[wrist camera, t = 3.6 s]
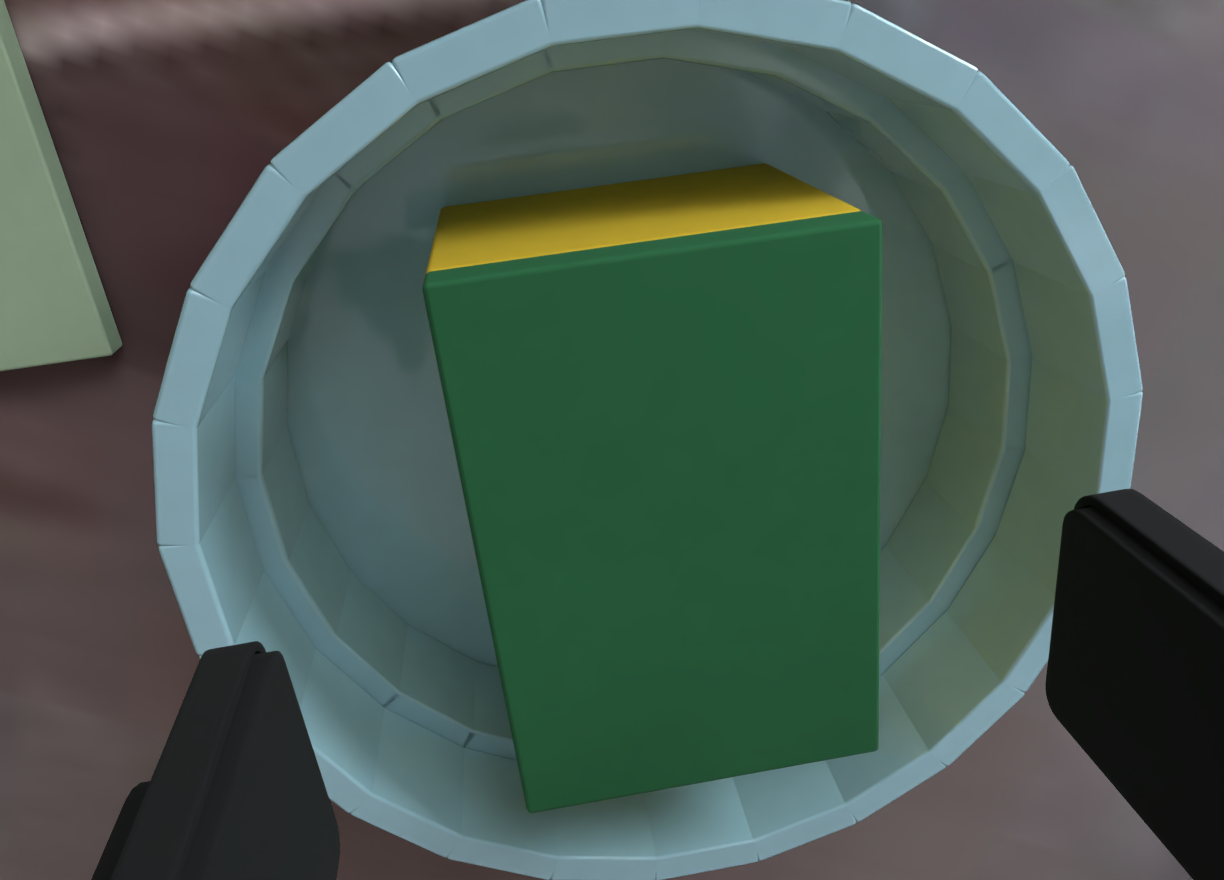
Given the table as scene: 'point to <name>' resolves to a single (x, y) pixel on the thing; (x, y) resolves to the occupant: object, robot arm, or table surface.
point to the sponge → (669, 472)
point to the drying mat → (41, 237)
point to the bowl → (423, 447)
